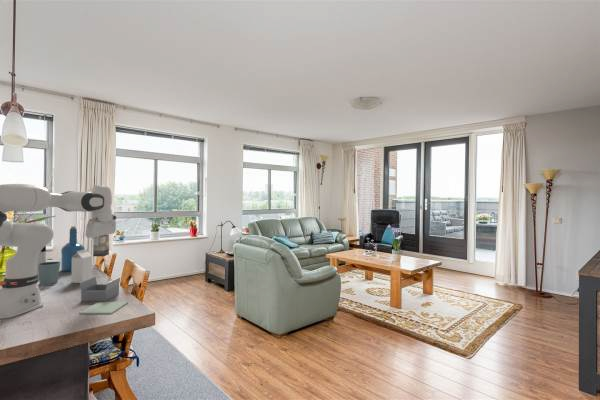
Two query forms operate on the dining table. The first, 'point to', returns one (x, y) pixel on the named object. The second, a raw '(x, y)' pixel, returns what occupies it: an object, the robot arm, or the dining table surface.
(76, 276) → the milk carton
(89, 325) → the dining table surface
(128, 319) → the dining table surface
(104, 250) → the box
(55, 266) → the grey-green plant pot
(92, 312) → the sage mat
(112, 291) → the storage tote
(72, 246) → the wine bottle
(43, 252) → the travel mug
